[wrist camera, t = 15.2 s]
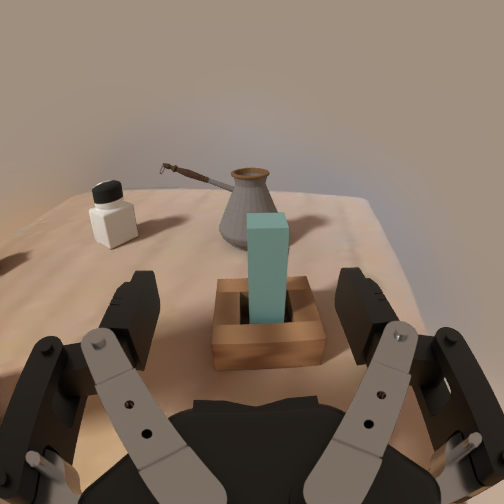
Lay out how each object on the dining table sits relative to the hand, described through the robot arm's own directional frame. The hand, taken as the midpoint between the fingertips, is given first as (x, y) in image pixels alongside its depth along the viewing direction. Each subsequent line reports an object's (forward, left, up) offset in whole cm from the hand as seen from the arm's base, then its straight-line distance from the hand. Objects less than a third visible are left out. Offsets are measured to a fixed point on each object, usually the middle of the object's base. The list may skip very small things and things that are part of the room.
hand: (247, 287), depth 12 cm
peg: (-6, +14, -17) cm, 23 cm away
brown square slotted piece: (-6, +14, -17) cm, 23 cm away
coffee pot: (-23, +32, -17) cm, 43 cm away
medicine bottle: (-44, +23, -17) cm, 52 cm away
